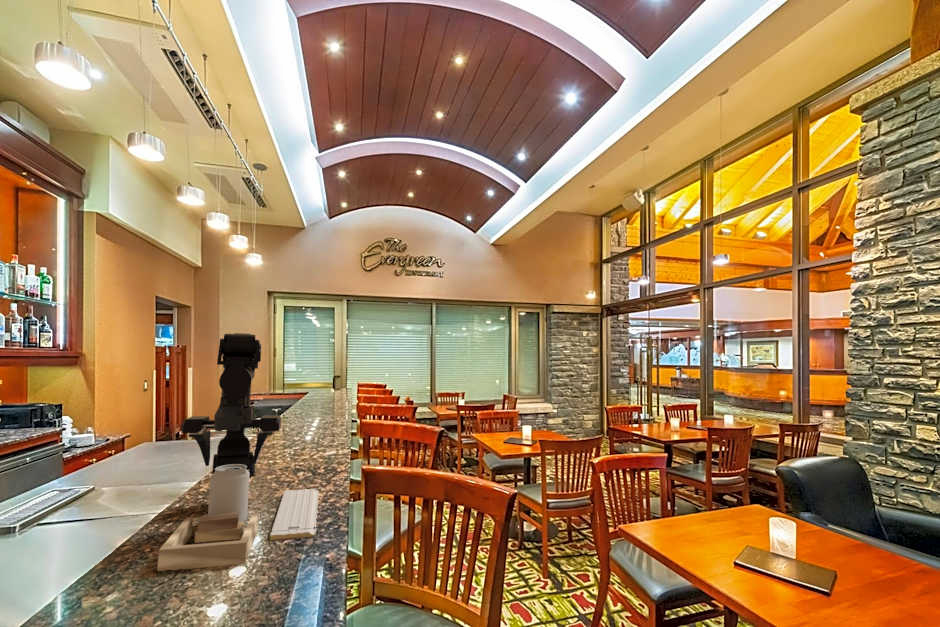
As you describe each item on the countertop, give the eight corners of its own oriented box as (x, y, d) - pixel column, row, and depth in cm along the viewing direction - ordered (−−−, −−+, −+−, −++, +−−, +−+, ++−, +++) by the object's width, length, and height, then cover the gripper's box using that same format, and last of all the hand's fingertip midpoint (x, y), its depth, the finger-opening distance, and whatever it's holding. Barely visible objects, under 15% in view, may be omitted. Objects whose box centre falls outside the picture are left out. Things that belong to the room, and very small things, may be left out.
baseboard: (324, 493, 122) (284, 496, 119) (324, 482, 122) (284, 485, 119) (322, 538, 93) (269, 543, 90) (323, 524, 93) (270, 528, 91)
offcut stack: (199, 535, 92) (201, 514, 92) (243, 531, 94) (244, 511, 94) (194, 543, 88) (195, 521, 88) (240, 539, 90) (241, 518, 91)
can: (253, 518, 101) (257, 463, 102) (233, 532, 94) (237, 471, 95) (221, 517, 102) (224, 461, 103) (198, 530, 94) (203, 470, 95)
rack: (184, 536, 91) (185, 518, 91) (258, 530, 95) (259, 513, 95) (157, 571, 77) (158, 550, 77) (245, 563, 80) (246, 542, 81)
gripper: (175, 394, 90) (169, 476, 88) (278, 394, 95) (273, 471, 94) (192, 390, 100) (186, 463, 99) (283, 390, 106) (279, 459, 104)
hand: (231, 464), depth 99 cm, fingers open, 9 cm apart
